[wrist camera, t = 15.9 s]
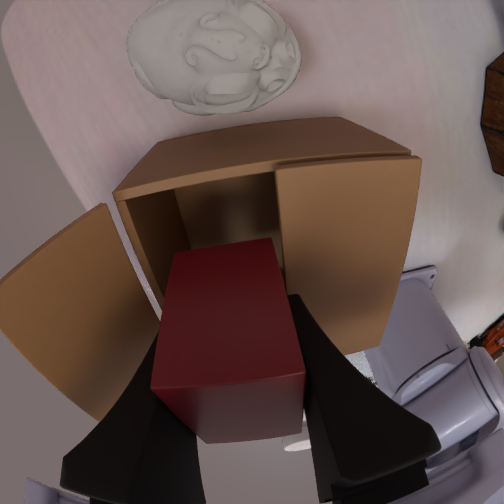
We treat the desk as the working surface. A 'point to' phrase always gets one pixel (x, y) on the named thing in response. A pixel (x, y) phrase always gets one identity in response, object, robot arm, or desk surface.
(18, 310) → the cardboard box flap
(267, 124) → the cardboard box
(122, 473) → the robot arm
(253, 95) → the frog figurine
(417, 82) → the desk surface
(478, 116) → the desk surface
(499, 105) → the mug
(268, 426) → the dark red block
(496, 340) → the toy car
